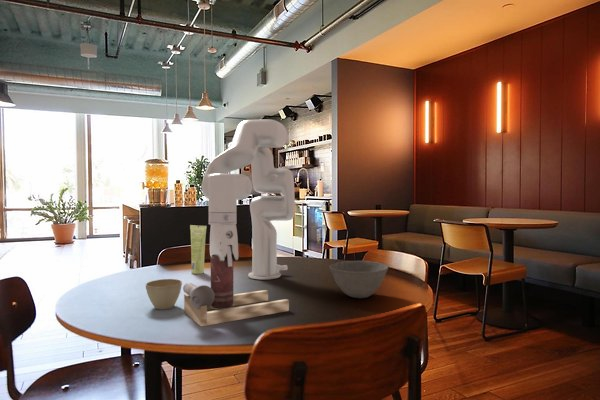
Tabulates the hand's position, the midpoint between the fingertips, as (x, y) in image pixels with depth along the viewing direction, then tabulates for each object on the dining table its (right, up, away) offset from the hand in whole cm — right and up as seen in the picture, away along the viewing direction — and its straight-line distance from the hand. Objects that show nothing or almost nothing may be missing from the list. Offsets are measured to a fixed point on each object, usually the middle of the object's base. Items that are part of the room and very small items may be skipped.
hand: (222, 285), depth 113 cm
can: (0, -6, 0) cm, 6 cm away
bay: (+3, -8, +1) cm, 8 cm away
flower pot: (-18, -8, +7) cm, 21 cm away
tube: (-20, -7, +55) cm, 59 cm away
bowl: (+40, -8, +20) cm, 45 cm away
